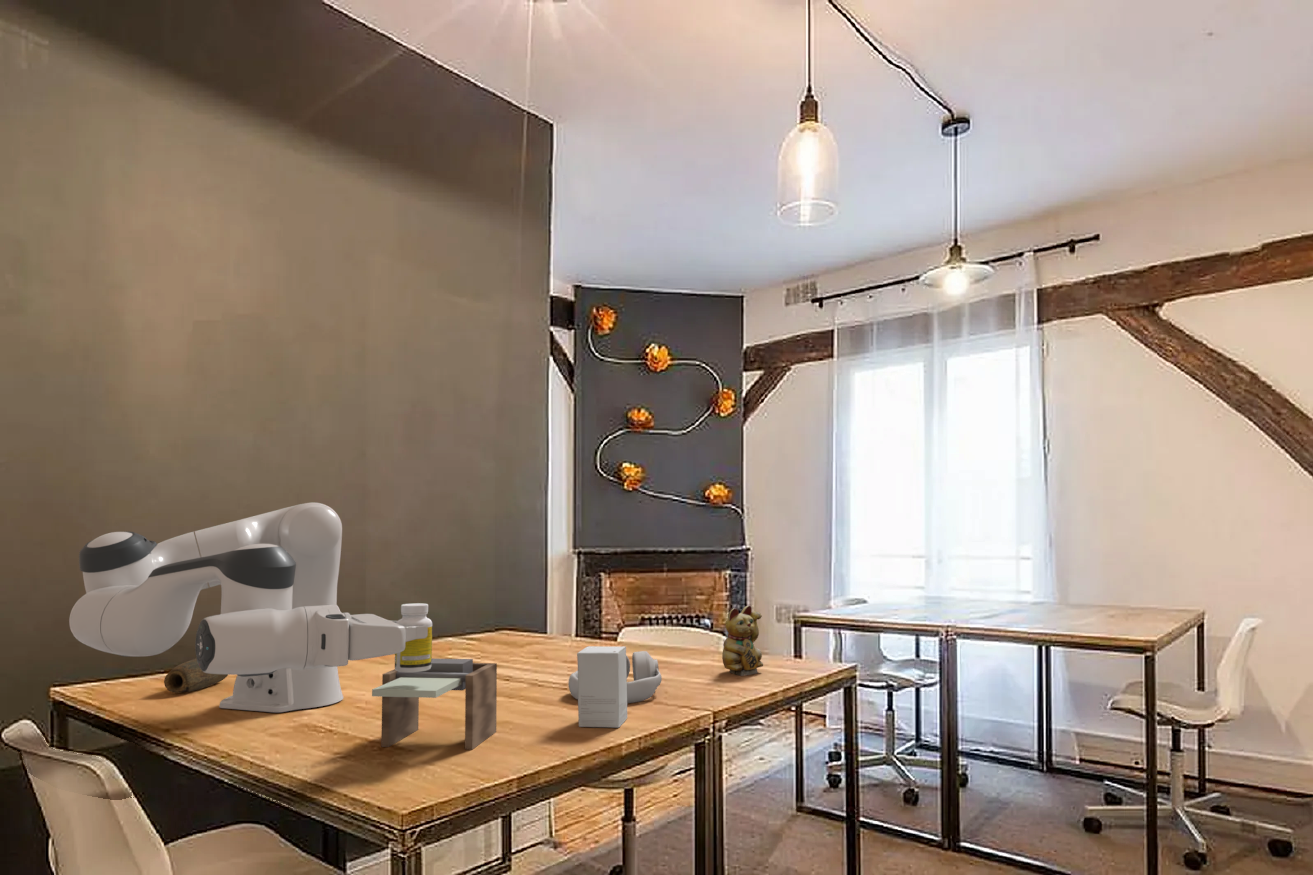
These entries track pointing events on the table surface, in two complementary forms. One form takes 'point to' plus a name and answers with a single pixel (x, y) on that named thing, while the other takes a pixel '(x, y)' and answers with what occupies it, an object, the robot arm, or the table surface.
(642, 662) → the headphones
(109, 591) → the robot arm
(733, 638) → the decorative figurine
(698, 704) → the table surface
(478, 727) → the walnut frame
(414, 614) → the supplement bottle
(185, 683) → the brown hollow rounded cylinder
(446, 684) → the trapdoor
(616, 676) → the supplement box
